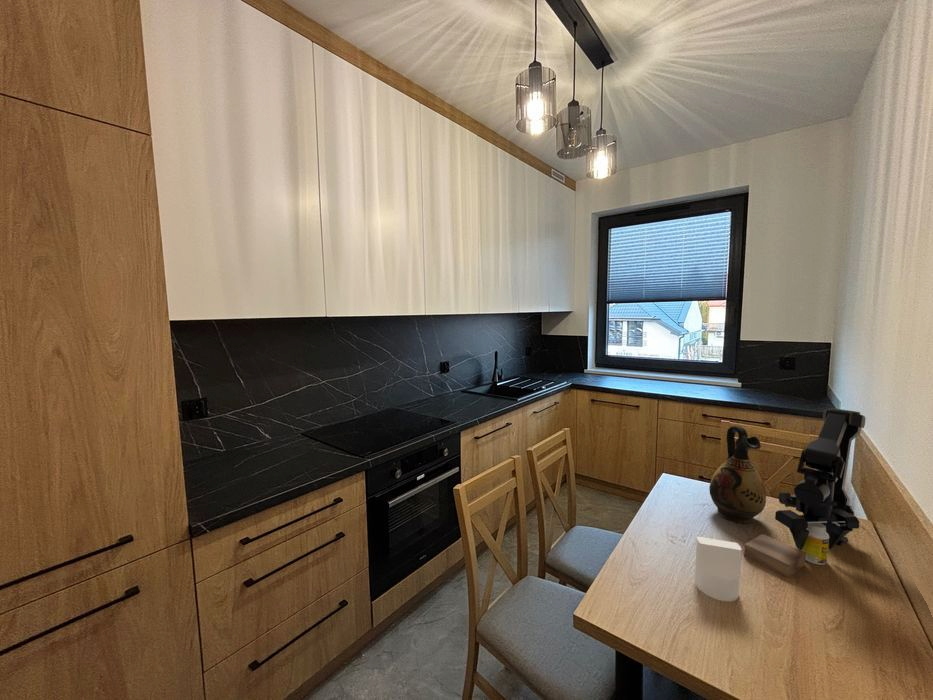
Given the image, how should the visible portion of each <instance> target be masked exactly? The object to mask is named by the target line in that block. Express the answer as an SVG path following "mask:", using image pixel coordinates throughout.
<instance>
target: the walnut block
mask: <svg viewBox="0 0 933 700" xmlns="http://www.w3.org/2000/svg"><path fill="white" fill-rule="evenodd" d="M743 557H744V558H746V559H749V560H751V561H753V562H755V563H757V564H759V565H761V566H764V567H766V568H767V569H769V570H772V571H774V572H776V573H778V574H780V575H782V576H784V577H786V578H789V577H791V576H792V575H794V574H795V573H796V572H798V571H799V570H801V569H802V568H803V567H805V566H806V552H804V551H801V550H799V549H798V548H797V547H794V546H792V545H789V544H787V543H785V542H782V541H780V540H778V539H775V538H772V537H771V536H768V535H766V534H763V533H762V534H759V535H758V536H757V537H755V538H752V540H749V541H748V542H746V543H744V550H743Z"/></svg>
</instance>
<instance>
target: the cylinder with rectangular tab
mask: <svg viewBox="0 0 933 700" xmlns="http://www.w3.org/2000/svg"><path fill="white" fill-rule="evenodd" d="M695 547H696V548H695V563H694V565H695V569H694V584H695V586H696V587H697V589H699V591H700V592H702V593H703V594H705V595H706V596H708V597H710V598H712V599H715V600H717V601H722V602H733V601H736V600H738V598H739V595H740V594H739V593H740V579H741V564H742V563H741V562H742V561H741V560H742V547H741V545H740V544H739V543H738V542H733V541H727V540H722V539H715V538H709V537H708V538H707V537H703V536H702V537H701V536H696V546H695Z"/></svg>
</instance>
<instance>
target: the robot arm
mask: <svg viewBox="0 0 933 700" xmlns="http://www.w3.org/2000/svg"><path fill="white" fill-rule="evenodd" d="M822 421H823V422H824V423H823V426H822V427H821V430H820V432H819V434H818V437H817V439H815V440H812V441H810V442H808V444H807V445H806V446H805V448H804V449H802V451H801V454H800V457H799V458H800V459H799V461H798V462H799V463H798V467H797V470H796V472H797V473H798V474H802V475H803V479H802V480H801V481H800V482H798V483H797V485H795V487H794V488H793V493H794V494H791V493H790V492H785V491H784V492H783V491H782V492H779V494H778V502H779V503H780V504H781V505H784V506H785V508H789V507H791V508H795V511H797V512H799V513H802V514H798V513H797V512H794V510H791V509H784V510H780V509H779V510H777V511H775V514H774V519H775V521H777V522H779V523H781V524H782V525H784V526H785V527H787V528H788V530H789V531H790V533H791V536H792V538H793V541H794V544H795V546H796V547H795V548H796V549H799V550H802V549H803V547H804V545H805V542H806V539H807V537H808V535H809V532H810V531H808V530H806V529H807V528H808V523H822V524H824V525H825V526H826V533H828V535H829V546H828V550H832V549H833V548H834V547H835V546H842V545H844V544H845V543H846V542H847V541H848V540H849V537H846V535H847V536H848V534H849V533H850V532H853V531H854V529H858V530H859V529H860V520H859V519H858V518H857V516H855V511H854V510H853V506H851V504H850V503H851V498H850V497H849V495H848V493H847V492H846V490H845V484H846V479H847V471H848V467H849V461H850V460H849V459H850V454H851V452H850V451H851V446H852V441H853V440H854V439H856V438H857V437H858V436H860V434H861V432H862V429H865V425H866V416H865V415H864V414H861V411H854V410H848V409H840V408H836V407H835V408H834V407H832V408H827V409H823V416H822ZM804 466H806V467H804Z"/></svg>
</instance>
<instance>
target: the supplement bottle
mask: <svg viewBox="0 0 933 700" xmlns="http://www.w3.org/2000/svg"><path fill="white" fill-rule="evenodd" d="M806 530H808V531H810V532H809V535H808V537H807V539H806V542H805V545H804V547H803V549H802V550H801V551H804V552H806V561H807V562H808V563H811V564H814V565H818V566H823V565H824V566H825V565H826V564H827V563H828V555H829V548H828V546H829V535H828V533H826V526H825V525H824V524H822V523H808V528H807V529H806ZM806 561H805V562H806Z"/></svg>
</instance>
